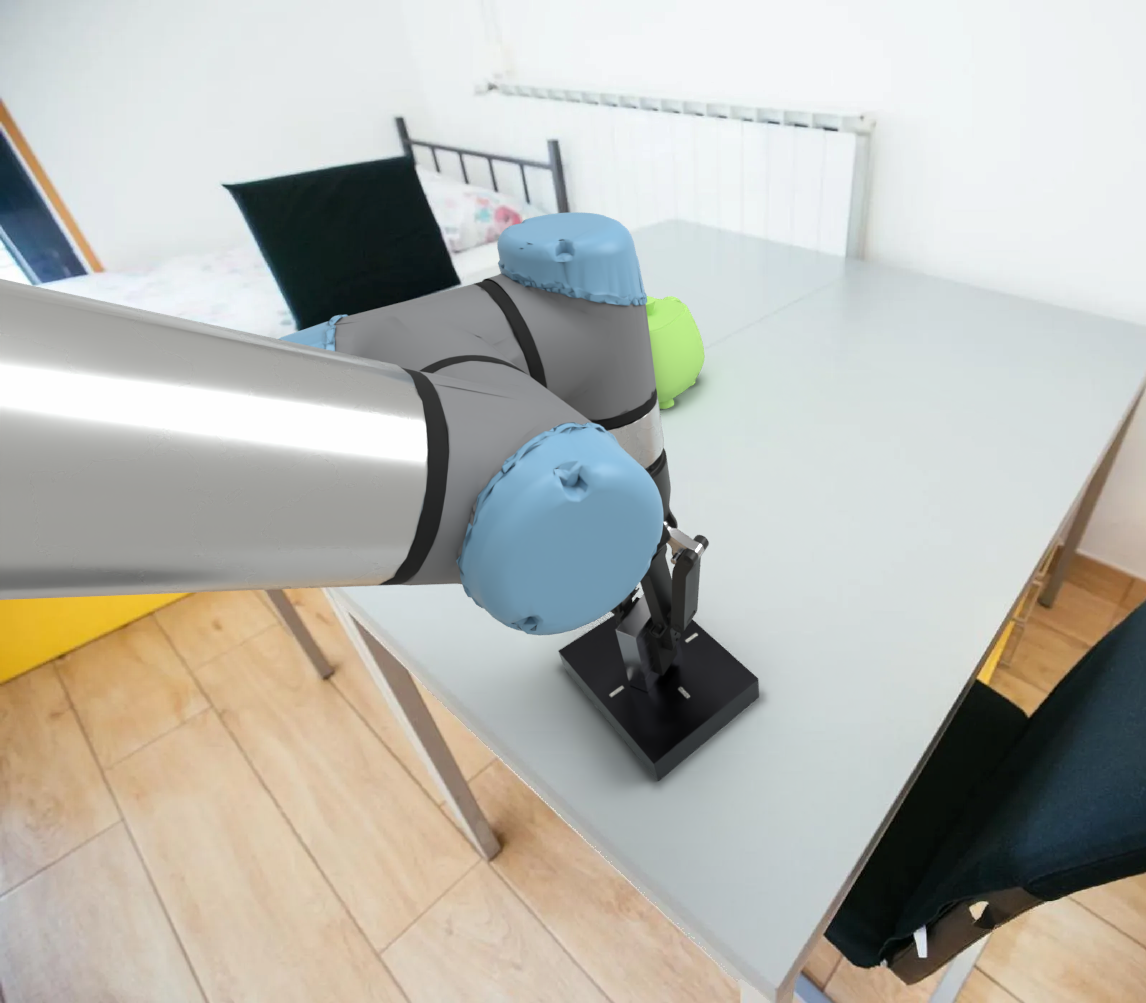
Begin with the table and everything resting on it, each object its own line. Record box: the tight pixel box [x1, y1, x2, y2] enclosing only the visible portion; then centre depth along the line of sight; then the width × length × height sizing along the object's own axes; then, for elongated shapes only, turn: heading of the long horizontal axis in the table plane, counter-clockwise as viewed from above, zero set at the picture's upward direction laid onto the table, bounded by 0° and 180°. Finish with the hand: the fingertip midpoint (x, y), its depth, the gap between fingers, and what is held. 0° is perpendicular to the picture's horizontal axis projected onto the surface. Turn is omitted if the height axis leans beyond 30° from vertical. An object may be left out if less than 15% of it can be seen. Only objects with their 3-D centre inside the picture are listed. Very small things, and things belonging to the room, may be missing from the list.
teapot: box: [646, 295, 706, 410], centre depth 101 cm, size 25×22×16 cm
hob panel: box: [557, 614, 760, 782], centre depth 60 cm, size 12×16×3 cm
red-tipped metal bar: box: [616, 593, 680, 692], centre depth 57 cm, size 6×2×8 cm, turn 156°
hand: (654, 658), depth 59 cm, fingers closed on red-tipped metal bar, 2 cm apart
